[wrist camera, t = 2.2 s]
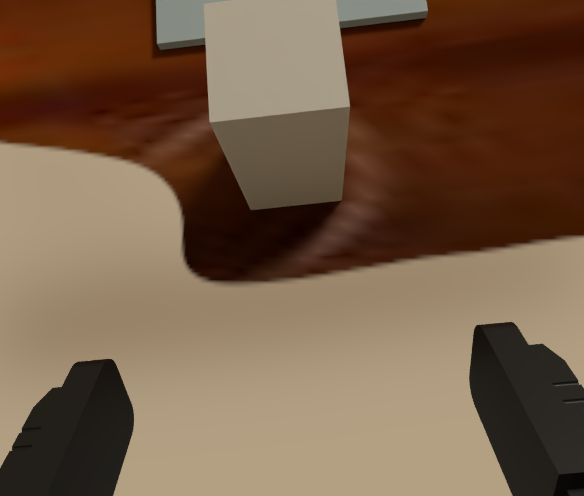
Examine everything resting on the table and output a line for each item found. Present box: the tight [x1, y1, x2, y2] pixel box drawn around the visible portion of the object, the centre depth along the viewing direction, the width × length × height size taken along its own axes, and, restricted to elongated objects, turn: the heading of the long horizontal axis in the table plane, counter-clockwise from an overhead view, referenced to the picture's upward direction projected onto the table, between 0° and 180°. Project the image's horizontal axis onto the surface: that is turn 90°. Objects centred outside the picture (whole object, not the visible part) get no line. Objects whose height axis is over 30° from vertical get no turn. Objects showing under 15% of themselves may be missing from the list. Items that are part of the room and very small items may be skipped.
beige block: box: [204, 0, 350, 210], centre depth 23 cm, size 5×5×10 cm
